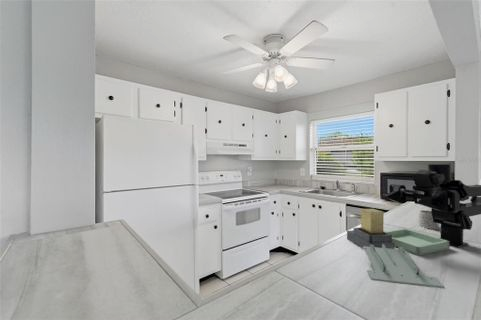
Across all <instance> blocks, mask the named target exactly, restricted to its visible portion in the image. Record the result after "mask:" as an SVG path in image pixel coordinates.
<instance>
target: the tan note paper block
mask: <svg viewBox="0 0 481 320" xmlns="http://www.w3.org/2000/svg"><path fill="white" fill-rule="evenodd" d="M360 214H361V216H360V222H361V224H360V228H361V231H363V232H365V233H367V234H369V235H383V231H384V214H385V213H384V211H382V210H379V209H376V208H361V210H360Z"/></svg>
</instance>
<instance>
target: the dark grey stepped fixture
mask: <svg viewBox="0 0 481 320" xmlns="http://www.w3.org/2000/svg"><path fill="white" fill-rule="evenodd" d="M346 239H347V240H348V241H350V242H351V243H353V244H354V245H357V246H358V247H360V248H361V249H363V246H365V247H370V245H374V247H377V248H382V244H384V246H385V247H386V248H388V249H395V247H394V242H393V241H392V235H391V234H389V233H387V232H385V231H384V230H383V235H369V234H367V233H365V232H363V231H361V227H354V228H353V230H347V231H346ZM365 249H366V248H365Z"/></svg>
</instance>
